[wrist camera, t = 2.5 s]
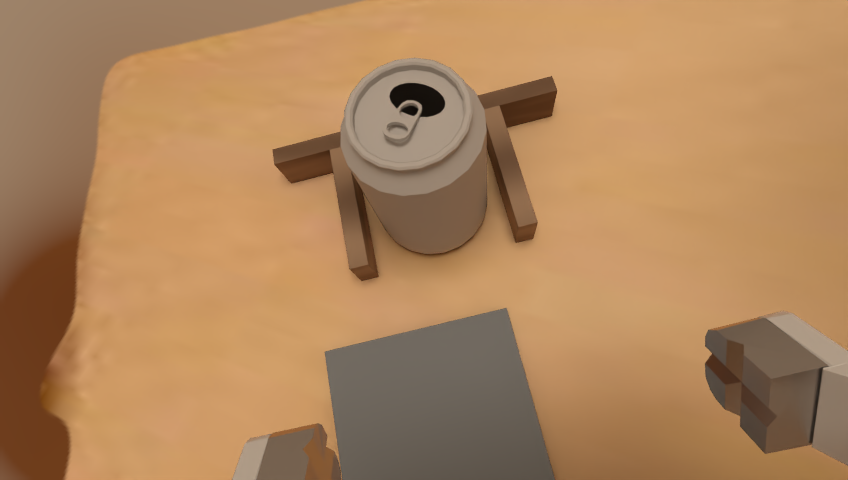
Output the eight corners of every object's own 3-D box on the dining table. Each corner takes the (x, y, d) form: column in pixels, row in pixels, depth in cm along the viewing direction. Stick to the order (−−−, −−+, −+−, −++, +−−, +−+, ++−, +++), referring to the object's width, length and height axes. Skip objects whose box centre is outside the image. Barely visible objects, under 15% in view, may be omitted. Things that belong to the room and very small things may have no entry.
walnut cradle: (289, 169, 36) (272, 149, 33) (546, 102, 35) (551, 76, 32) (305, 294, 33) (288, 284, 30) (591, 224, 32) (601, 206, 29)
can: (503, 179, 33) (510, 66, 22) (462, 274, 32) (447, 202, 20) (408, 147, 35) (371, 27, 24) (364, 235, 33) (301, 150, 22)
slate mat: (327, 352, 31) (324, 351, 30) (506, 309, 30) (506, 307, 30) (357, 562, 27) (354, 566, 26) (564, 517, 26) (566, 520, 26)
